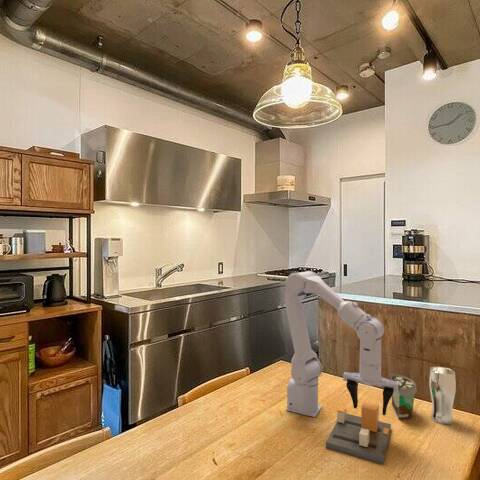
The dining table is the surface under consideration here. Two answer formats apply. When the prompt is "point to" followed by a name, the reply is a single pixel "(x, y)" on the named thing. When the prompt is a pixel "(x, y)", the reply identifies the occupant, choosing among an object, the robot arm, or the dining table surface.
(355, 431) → the panel
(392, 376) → the food container
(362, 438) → the block
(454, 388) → the beer glass
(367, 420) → the block
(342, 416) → the block
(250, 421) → the dining table surface
